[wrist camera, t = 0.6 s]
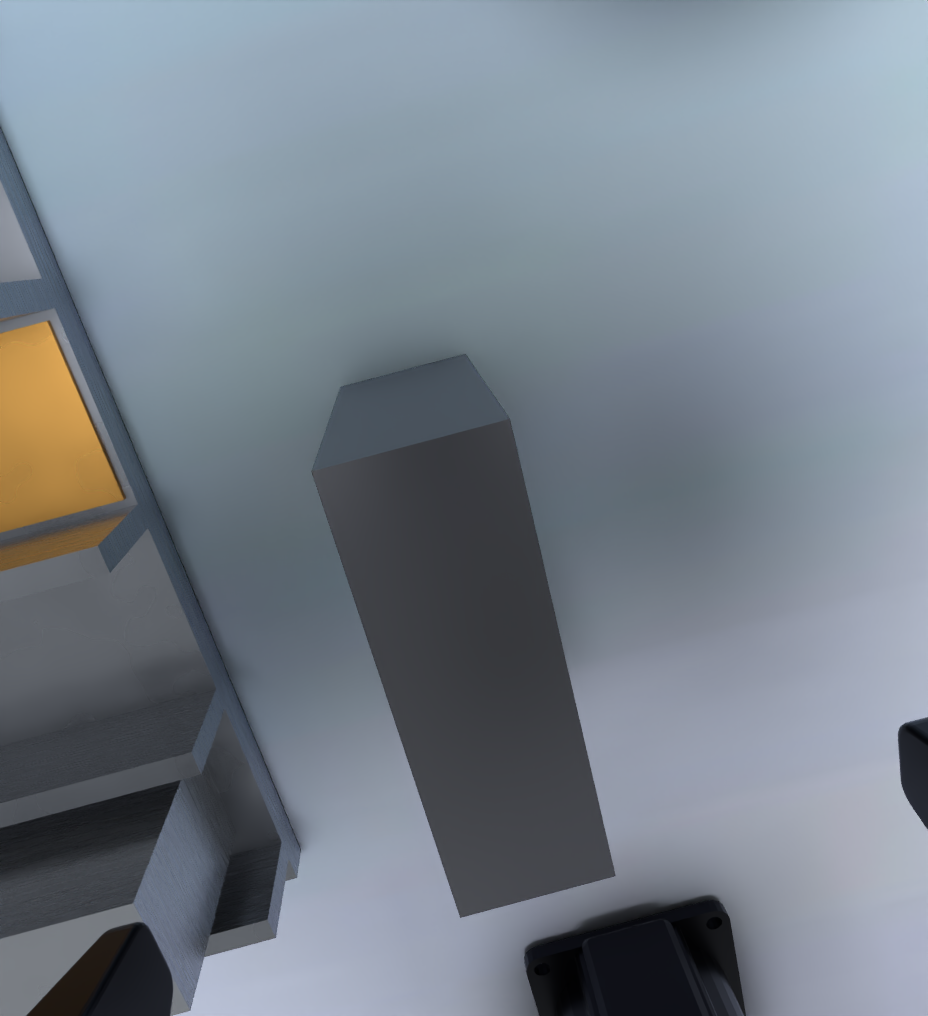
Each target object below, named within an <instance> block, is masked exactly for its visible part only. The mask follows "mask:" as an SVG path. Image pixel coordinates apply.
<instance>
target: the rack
mask: <svg viewBox="0 0 928 1016" xmlns="http://www.w3.org/2000/svg"><path fill="white" fill-rule="evenodd" d="M300 853H301V849H300V847H299V845H298V842H297V840H296V837H295V835H294V833H293V830H292V828H291V825H290V823H289V821H288V818H287V816H286V813H285V811H284V809H283V806H282V804H281V801H280V799H279V797H278V794H277V792H276V789H275V787H274V785H273V782H272V780H271V777H270V775H269V772H268V770H267V768H266V765H265V763H264V760H263V758H262V756H261V753H260V751H259V748H258V746H257V744H256V741H255V739H254V736H253V734H252V732H251V729H250V727H249V724H248V722H247V720H246V717H245V715H244V712H243V710H242V708H241V705H240V703H239V700H238V698H237V696H236V693H235V691H234V688H233V686H232V684H231V681H230V679H229V676H228V674H227V671H226V669H225V667H224V664H223V662H222V659H221V657H220V655H219V652H218V650H217V647H216V645H215V643H214V640H213V638H212V635H211V633H210V631H209V628H208V626H207V623H206V621H205V619H204V616H203V614H202V611H201V609H200V607H199V604H198V602H197V599H196V597H195V595H194V592H193V590H192V587H191V585H190V583H189V580H188V578H187V575H186V573H185V571H184V568H183V566H182V563H181V561H180V558H179V556H178V554H177V551H176V549H175V546H174V544H173V542H172V539H171V537H170V534H169V532H168V530H167V527H166V525H165V522H164V520H163V518H162V515H161V513H160V510H159V508H158V506H157V503H156V501H155V498H154V496H153V494H152V491H151V489H150V486H149V484H148V482H147V479H146V477H145V474H144V472H143V470H142V467H141V465H140V462H139V460H138V458H137V455H136V453H135V450H134V448H133V445H132V443H131V441H130V438H129V436H128V433H127V431H126V429H125V426H124V424H123V421H122V419H121V417H120V414H119V412H118V409H117V407H116V405H115V402H114V400H113V397H112V395H111V393H110V390H109V388H108V385H107V383H106V381H105V378H104V376H103V373H102V371H101V369H100V366H99V364H98V361H97V359H96V357H95V354H94V352H93V349H92V347H91V344H90V342H89V340H88V337H87V335H86V332H85V330H84V328H83V325H82V323H81V320H80V318H79V316H78V313H77V311H76V308H75V306H74V304H73V301H72V299H71V296H70V294H69V292H68V289H67V287H66V284H65V282H64V280H63V277H62V275H61V272H60V270H59V268H58V265H57V263H56V260H55V258H54V256H53V253H52V251H51V248H50V246H49V244H48V241H47V239H46V236H45V234H44V231H43V229H42V227H41V224H40V222H39V219H38V217H37V215H36V212H35V210H34V207H33V205H32V203H31V200H30V198H29V195H28V193H27V191H26V188H25V186H24V183H23V181H22V179H21V176H20V174H19V171H18V169H17V167H16V164H15V162H14V159H13V157H12V155H11V152H10V150H9V147H8V145H7V143H6V140H5V138H4V135H3V133H2V131H1V128H0V1016H26V1015H27V1014H28V1013H29V1012H30V1011H31V1010H32V1009H33V1008H34V1007H35V1005H36V1004H37V1003H38V1002H39V1001H40V1000H41V999H42V998H43V997H44V996H45V995H46V994H47V993H48V992H49V991H50V990H51V988H52V987H53V986H54V985H55V984H56V983H57V982H58V981H59V980H60V979H61V978H62V977H63V976H64V975H65V974H66V972H67V971H68V970H69V969H70V968H71V967H72V966H73V965H74V964H75V963H76V962H77V961H78V960H79V959H80V958H81V956H82V955H83V954H84V953H85V952H86V951H87V950H88V949H89V948H90V947H91V946H92V945H93V944H94V943H95V942H96V941H97V939H98V938H99V937H100V936H101V935H102V934H103V933H104V932H106V931H107V930H110V929H112V928H115V927H119V926H123V925H127V924H130V923H134V922H143V923H145V924H146V925H147V926H148V927H149V928H150V930H151V932H152V934H153V936H154V938H155V940H156V942H157V944H158V946H159V948H160V950H161V952H162V954H163V956H164V958H165V960H166V962H167V964H168V966H169V968H170V971H171V974H172V979H173V999H172V1007H171V1015H170V1016H172V1015H176V1014H180V1013H183V1012H187V1011H190V1010H191V1006H192V1002H193V998H194V994H195V990H196V987H197V983H198V979H199V975H200V971H201V967H202V964H203V960H204V957H206V956H210V955H214V954H217V953H221V952H225V951H229V950H232V949H236V948H240V947H243V946H247V945H251V944H255V943H258V942H262V941H266V940H270V939H273V938H276V933H277V927H278V921H279V915H280V909H281V903H282V897H283V890H284V884H285V881H286V880H290V879H294V878H297V873H298V866H299V860H300Z"/></svg>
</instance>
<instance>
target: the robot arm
mask: <svg viewBox="0 0 928 1016" xmlns="http://www.w3.org/2000/svg"><path fill="white" fill-rule="evenodd" d="M898 744H899V759H900V775H901V784H902V787H903V790H904V793H905V795H906V797H907V799H908V801H909V803H910V804H911V806H912V807H913V809H914V810H915V812H916V813H917V815H918V816H919V818H920V819H921V821H922V822H923V823H924V825H925V826H926V828H927V829H928V717H927V718H923V719H919V720H915V721H911V722H907V723H905V724H903V725H902V726H901V727H900V729H899V731H898ZM524 961H525V967H526V973H527V976H528V980H529V983H530V986H531V990H532V993H533V996H534V999H535V1003H536V1006H537V1009H538V1013H539V1016H746V1014H745V1008H744V1002H743V995H742V989H741V983H740V977H739V971H738V965H737V959H736V953H735V947H734V941H733V935H732V929H731V923H730V918H729V916H728V914H727V912H726V910H725V908H724V906H723V904H722V903H720V902H719V901H715V900H710V901H704V902H701V903H697V904H693V905H690V906H686V907H682V908H678V909H675V910H671V911H667V912H663V913H660V914H656V915H652V916H649V917H645V918H641V919H637V920H634V921H630V922H626V923H623V924H619V925H615V926H611V927H608V928H604V929H600V930H596V931H593V932H589V933H585V934H582V935H578V936H574V937H570V938H567V939H563V940H559V941H556V942H552V943H548V944H544V945H541V946H537V947H534V948H532V949H530V950H529V951H528V952H527V953H526V955H525V957H524ZM541 963H542V964H541ZM172 999H173V979H172V974H171V971H170V968H169V966H168V964H167V962H166V960H165V958H164V956H163V954H162V952H161V950H160V948H159V946H158V944H157V942H156V940H155V938H154V936H153V934H152V932H151V930H150V928H149V927H148V926H147V925H146V924H145V923H143V922H134V923H130V924H127V925H123V926H119V927H115V928H112V929H110V930H107V931H106V932H104V933H103V934H102V935H101V936H100V937H99V938H98V939H97V941H96V942H95V943H94V944H93V945H92V946H91V947H90V948H89V949H88V950H87V951H86V952H85V953H84V954H83V955H82V956H81V958H80V959H79V960H78V961H77V962H76V963H75V964H74V965H73V966H72V967H71V968H70V969H69V970H68V971H67V972H66V974H65V975H64V976H63V977H62V978H61V979H60V980H59V981H58V982H57V983H56V984H55V985H54V986H53V987H52V988H51V990H50V991H49V992H48V993H47V994H46V995H45V996H44V997H43V998H42V999H41V1000H40V1001H39V1002H38V1003H37V1004H36V1005H35V1007H34V1008H33V1009H32V1010H31V1011H30V1012H29V1013H28V1014H27V1015H26V1016H170V1015H171V1007H172Z"/></svg>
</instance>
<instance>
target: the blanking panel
mask: <svg viewBox="0 0 928 1016" xmlns="http://www.w3.org/2000/svg"><path fill="white" fill-rule="evenodd" d="M311 472H312V475H313V478H314V481H315V484H316V487H317V490H318V493H319V496H320V499H321V502H322V505H323V508H324V511H325V514H326V517H327V520H328V523H329V526H330V529H331V532H332V535H333V538H334V541H335V544H336V547H337V550H338V553H339V556H340V559H341V562H342V565H343V568H344V571H345V574H346V577H347V580H348V582H349V585H350V588H351V591H352V594H353V597H354V600H355V603H356V606H357V609H358V612H359V615H360V618H361V621H362V624H363V627H364V630H365V633H366V636H367V639H368V642H369V645H370V648H371V651H372V654H373V657H374V660H375V663H376V666H377V669H378V672H379V675H380V678H381V681H382V684H383V687H384V690H385V693H386V696H387V699H388V702H389V705H390V708H391V711H392V714H393V717H394V720H395V723H396V726H397V729H398V732H399V735H400V738H401V741H402V744H403V747H404V750H405V753H406V756H407V759H408V762H409V765H410V768H411V771H412V774H413V777H414V780H415V783H416V786H417V789H418V792H419V795H420V798H421V801H422V804H423V807H424V810H425V813H426V816H427V819H428V822H429V825H430V828H431V831H432V834H433V837H434V840H435V843H436V846H437V849H438V852H439V855H440V858H441V861H442V864H443V867H444V870H445V873H446V876H447V879H448V882H449V885H450V888H451V891H452V894H453V897H454V900H455V903H456V906H457V909H458V912H459V915H460V918H461V917H465V916H469V915H472V914H476V913H480V912H484V911H487V910H491V909H495V908H498V907H502V906H506V905H510V904H513V903H517V902H521V901H524V900H528V899H532V898H536V897H539V896H543V895H547V894H551V893H554V892H558V891H562V890H565V889H569V888H573V887H577V886H580V885H584V884H588V883H591V882H595V881H599V880H603V879H606V878H610V877H614V876H615V871H614V867H613V863H612V859H611V854H610V850H609V846H608V841H607V837H606V833H605V828H604V824H603V820H602V815H601V811H600V807H599V802H598V798H597V794H596V789H595V785H594V781H593V776H592V772H591V768H590V763H589V759H588V755H587V750H586V746H585V742H584V738H583V733H582V729H581V725H580V720H579V716H578V712H577V707H576V703H575V699H574V694H573V690H572V686H571V681H570V677H569V673H568V668H567V664H566V660H565V655H564V651H563V647H562V642H561V638H560V634H559V629H558V625H557V621H556V617H555V612H554V608H553V604H552V599H551V595H550V591H549V586H548V582H547V578H546V573H545V569H544V565H543V560H542V556H541V552H540V547H539V543H538V539H537V534H536V530H535V526H534V521H533V517H532V513H531V508H530V504H529V500H528V495H527V491H526V487H525V483H524V478H523V474H522V470H521V465H520V461H519V457H518V452H517V448H516V444H515V439H514V435H513V431H512V426H511V422H510V418H509V417H508V416H507V414H506V413H505V411H504V410H503V408H502V407H501V405H500V404H499V402H498V401H497V399H496V398H495V397H494V395H493V394H492V392H491V391H490V389H489V388H488V386H487V385H486V383H485V382H484V380H483V379H482V378H481V376H480V375H479V373H478V372H477V370H476V369H475V367H474V366H473V364H472V363H471V361H470V360H469V359H468V357H467V356H466V354H463V355H460V356H456V357H452V358H448V359H444V360H441V361H437V362H433V363H429V364H426V365H422V366H418V367H414V368H410V369H407V370H403V371H399V372H395V373H392V374H388V375H384V376H380V377H377V378H373V379H369V380H365V381H361V382H358V383H354V384H350V385H346V386H343V387H340V390H339V393H338V396H337V399H336V402H335V405H334V407H333V410H332V413H331V416H330V419H329V422H328V425H327V428H326V431H325V434H324V437H323V439H322V442H321V445H320V448H319V451H318V454H317V457H316V460H315V463H314V466H313V468H312V471H311Z"/></svg>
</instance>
